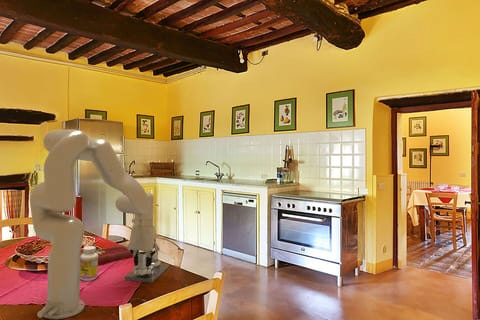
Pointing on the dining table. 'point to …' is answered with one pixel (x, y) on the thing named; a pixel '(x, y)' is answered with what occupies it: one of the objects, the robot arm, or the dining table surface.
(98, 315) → the dining table surface
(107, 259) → the hardcover book
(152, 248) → the robot arm
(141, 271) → the grey flanged socket
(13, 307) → the dining table surface
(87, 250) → the supplement bottle
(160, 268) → the carrier
